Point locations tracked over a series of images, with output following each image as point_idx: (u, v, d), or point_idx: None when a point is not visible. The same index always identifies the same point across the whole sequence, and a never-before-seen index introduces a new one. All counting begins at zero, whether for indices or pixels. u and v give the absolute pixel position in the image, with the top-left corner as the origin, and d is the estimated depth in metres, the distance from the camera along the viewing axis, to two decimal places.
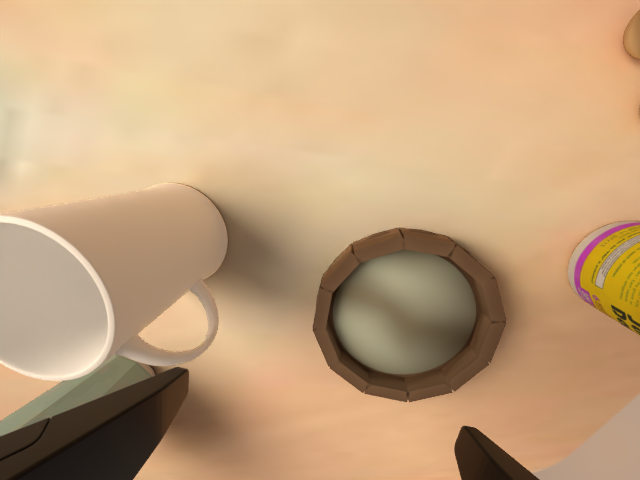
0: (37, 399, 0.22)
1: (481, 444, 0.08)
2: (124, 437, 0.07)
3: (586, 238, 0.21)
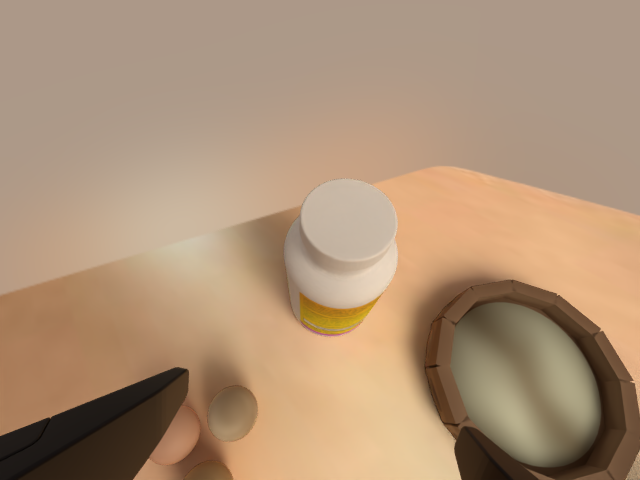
0: None
1: (481, 444, 0.08)
2: (124, 437, 0.07)
3: (339, 335, 0.23)
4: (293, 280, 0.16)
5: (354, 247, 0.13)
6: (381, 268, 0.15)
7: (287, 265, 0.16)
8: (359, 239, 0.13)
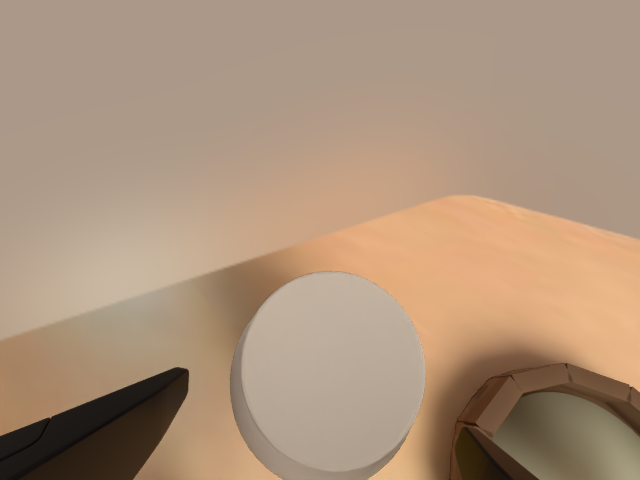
0: None
1: (481, 444, 0.08)
2: (124, 437, 0.07)
3: None
4: (242, 435, 0.09)
5: (342, 435, 0.07)
6: None
7: (233, 407, 0.10)
8: (353, 413, 0.07)
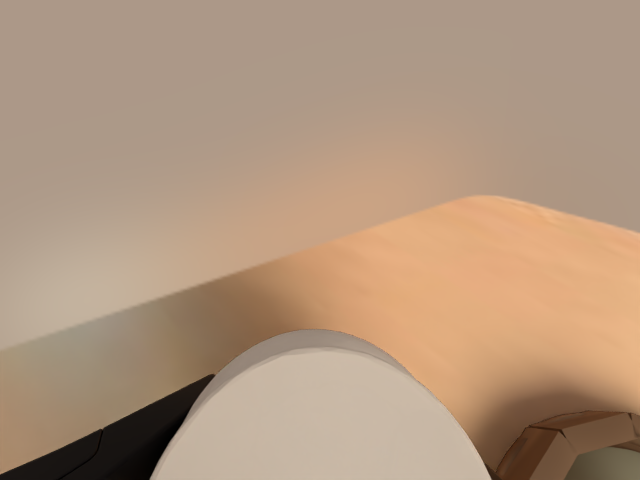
0: None
1: None
2: None
3: None
4: None
5: None
6: None
7: None
8: None
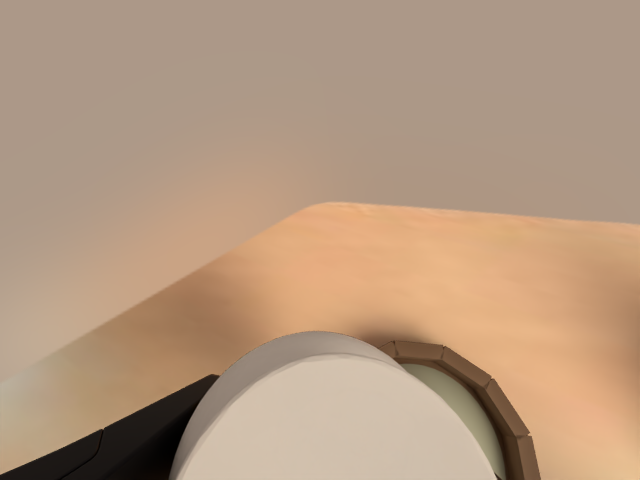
0: None
1: None
2: (171, 447, 0.07)
3: None
4: None
5: None
6: None
7: None
8: None
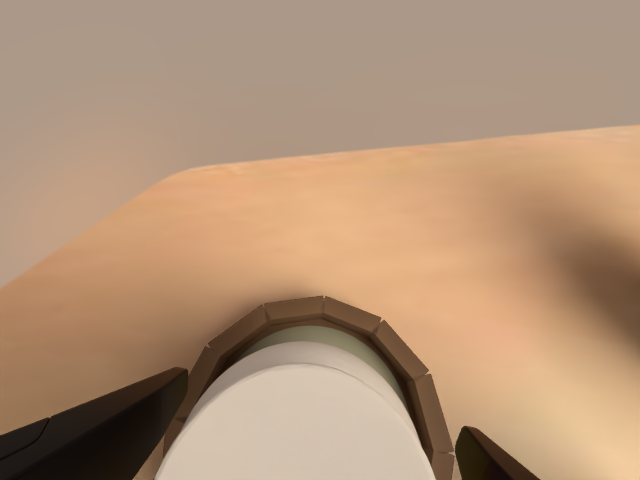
0: None
1: (482, 444, 0.08)
2: (123, 437, 0.07)
3: None
4: None
5: None
6: None
7: None
8: None
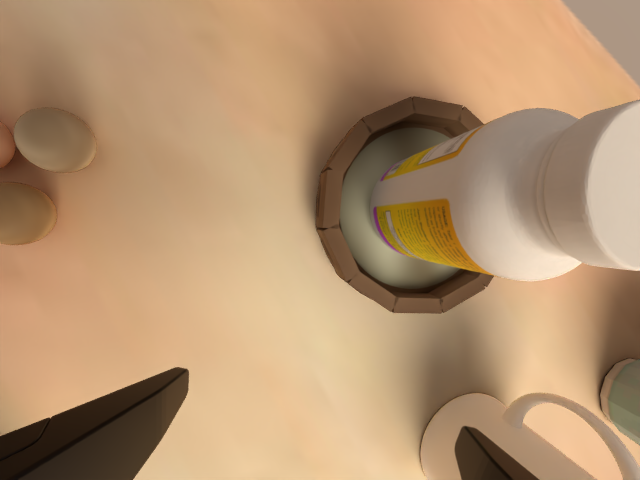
0: None
1: (481, 444, 0.08)
2: (124, 437, 0.07)
3: (392, 249, 0.20)
4: (459, 182, 0.11)
5: (621, 234, 0.08)
6: (563, 264, 0.11)
7: (472, 159, 0.10)
8: (636, 229, 0.08)
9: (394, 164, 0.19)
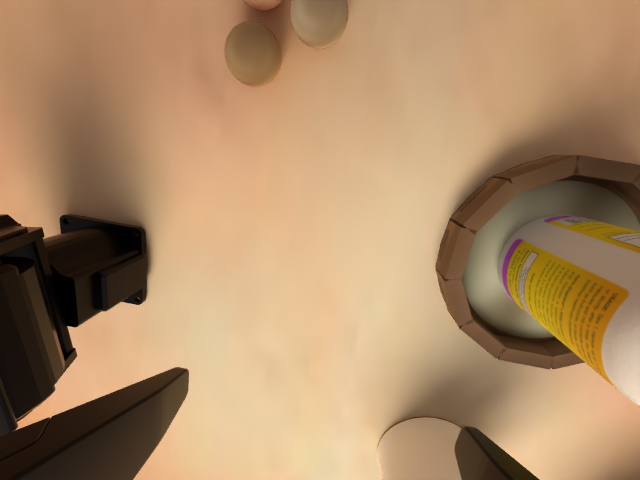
0: None
1: (481, 444, 0.08)
2: (124, 437, 0.07)
3: (500, 281, 0.20)
4: None
5: None
6: None
7: None
8: None
9: (568, 215, 0.18)
